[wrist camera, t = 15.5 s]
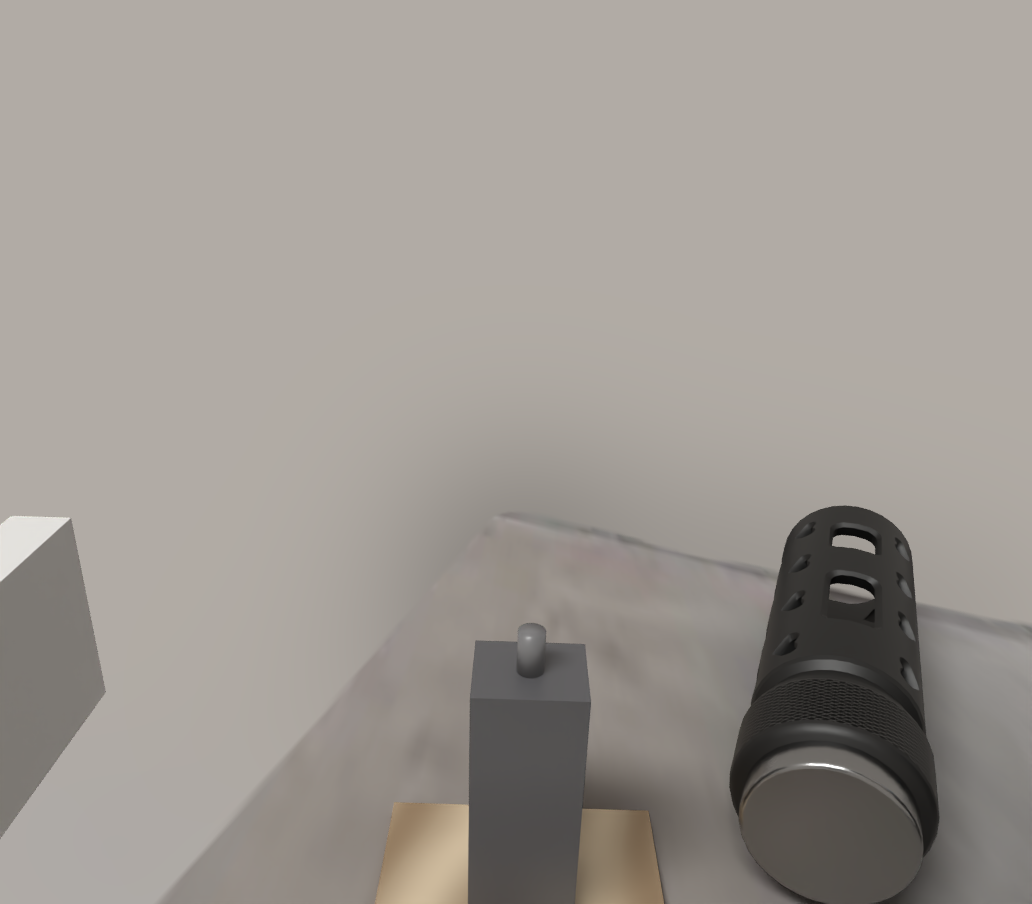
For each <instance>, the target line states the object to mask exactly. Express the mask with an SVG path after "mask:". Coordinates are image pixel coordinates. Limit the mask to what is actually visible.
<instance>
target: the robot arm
mask: <svg viewBox="0 0 1032 904" xmlns="http://www.w3.org/2000/svg"><path fill="white" fill-rule="evenodd" d="M105 692H106V691H105V686H104V681H103V676H102V671H101V666H100V661H99V656H98V651H97V646H96V641H95V636H94V631H93V626H92V621H91V617H90V611H89V606H88V601H87V596H86V591H85V586H84V581H83V576H82V571H81V566H80V561H79V555H78V550H77V546H76V541H75V535H74V530H73V526H72V521H71V518H60V517H59V518H58V517H29V516H11V517H9V518H8V519H7V520H6V521H5V522H3V523H2V524H1V525H0V838H1V837H2V836H3V834H4V833H5V831H6V830H7V829H8V827H9V826H10V824H11V823H12V822H13V820H14V819H15V817H16V816H17V815H18V813H19V812H20V811H21V809H22V808H23V806H24V805H25V804H26V802H27V801H28V799H29V798H30V797H31V795H32V794H33V793H34V791H35V790H36V788H37V787H38V786H39V784H40V783H41V781H42V780H43V779H44V777H45V776H46V774H47V773H48V772H49V770H50V769H51V767H52V766H53V765H54V763H55V762H56V760H57V759H58V758H59V756H60V755H61V753H62V752H63V751H64V749H65V748H66V747H67V745H68V744H69V742H70V741H71V740H72V738H73V737H74V736H75V734H76V732H77V731H78V730H79V729H80V727H81V726H82V724H83V723H84V722H85V720H86V719H87V717H88V716H89V715H90V713H91V712H92V711H93V709H94V708H95V706H96V705H97V703H98V702H99V701H100V699H101V698H102V697H103V695H104V694H105Z"/></svg>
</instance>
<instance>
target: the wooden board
mask: <svg viewBox="0 0 1032 904" xmlns="http://www.w3.org/2000/svg"><path fill="white" fill-rule="evenodd" d="M468 837H469V805H459V804H429V803H399V802H394V807H393V812H392V817H391V822H390V828H389V833H388V838H387V843H386V849H385V854H384V859H383V864H382V869H381V875H380V880H379V885H378V890H377V896H376V901H375V904H468ZM575 904H664V900H663V894H662V888H661V882H660V876H659V870H658V864H657V859H656V853H655V847H654V841H653V835H652V829H651V823H650V817H649V811H640V810H610V809H582V820H581V832H580V845H579V857H578V870H577V882H576V895H575Z"/></svg>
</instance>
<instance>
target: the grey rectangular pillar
mask: <svg viewBox="0 0 1032 904" xmlns="http://www.w3.org/2000/svg"><path fill="white" fill-rule="evenodd" d="M590 707H591V698H590V688H589V679H588V669H587V660H586V650H585V644H565V643H546V629H545V628H544V627H543V626H541V625H539V624H536V623H527V624H523V625H522V626H520V627H519V629H518V642H505V641H476V642H475V652H474V662H473V672H472V683H471V693H470V744H469V837H468V904H575V895H576V882H577V870H578V857H579V845H580V832H581V820H582V807H583V795H584V782H585V770H586V757H587V745H588V732H589V720H590Z"/></svg>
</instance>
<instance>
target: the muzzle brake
mask: <svg viewBox="0 0 1032 904" xmlns="http://www.w3.org/2000/svg"><path fill="white" fill-rule="evenodd" d="M837 535H849V536H856V537H859V538H863V539H866V540H868V541H870V542H871V543H872V544H873V545H874V546H875V555H874V554H872V553H869V552H865V551H862V550H858V549H854V548H845V547H835V546H832V540H833V537H835V536H837ZM835 583H840V584H850V585H854V586H858V587H860V588H864V589H866V590H868V591H869V592H871V593H872V595H873V596H874V598H875V599H873V600H871V601H868V602H865V603H860V604H846V603H842V602H837V601H833V600H829V590H830V585H831V584H835ZM729 787H730V792H731V797H732V802H733V806H734V808H735V810H736V813H737V815H738V817H739V825H740V830H741V835H742V837H743V839H744V842H745V844H746V846H747V848H748V850H749V852H750V853H751V855H752V856H753V858H754V859H755V861H756V862H757V863H758V864H759V865H760V866H761V867H762V868H763V869H764V871H765V872H766V873H767V874H768V875H770V876H771V877H772V878H773V879H775V880H776V881H777V882H779V883H780V884H781V885H783V886H784V887H786V888H788V889H790V890H791V891H793V892H795V893H796V894H799V895H801V896H804V897H806V898H808V899H811V900H814V901H818V902H822V903H826V904H873V903H879V902H881V901H884V900H886V899H889V898H891V897H894V896H895V895H896V894H898V893H899V892H901V891H902V890H904V889H905V888H906V887H907V886H908V885H909V884H910V883H911V881H912V880H913V879H914V878H915V876H916V874H917V872H918V870H919V868H920V866H921V864H922V858H923V857H924V856H925V855H926V854H927V852H928V851H929V850H930V848H931V846H932V844H933V842H934V840H935V837H936V835H937V831H938V824H939V808H938V797H937V785H936V774H935V765H934V756H933V753H932V750H931V748H930V745H929V742H928V740H927V737H926V729H925V716H924V703H923V691H922V678H921V665H920V652H919V640H918V627H917V614H916V601H915V589H914V577H913V563H912V555H911V550H910V548H909V544H908V542H907V540H906V538H905V537H904V535H903V534H902V532H901V531H900V530H899V529H898V528H897V527H896V526H895V525H894V524H893V523H892V522H890V521H889V520H887V519H886V518H884V517H883V516H882V515H879V514H877V513H875V512H873V511H871V510H867V509H864V508H859V507H852V506H832V507H828V508H824V509H820V510H818V511H816V512H813V513H811V514H809V515H808V516H806V517H805V518H803V519H802V520H800V521H799V523H797V525H796V526H795V527H794V528H793V529H792V531H791V533H790V535H789V536H788V538H787V541H786V544H785V548H784V552H783V557H782V564H781V568H780V571H779V575H778V580H777V585H776V589H775V596H774V601H773V605H772V608H771V613H770V617H769V622H768V627H767V633H766V639H765V643H764V646H763V650H762V655H761V659H760V664H759V669H758V673H757V682H756V686H755V690H754V693H753V697H752V701H751V707H750V708H749V710H748V711H747V713H746V715H745V716H744V718H743V721H742V724H741V727H740V731H739V735H738V739H737V744H736V748H735V753H734V757H733V762H732V766H731V771H730V786H729Z"/></svg>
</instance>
